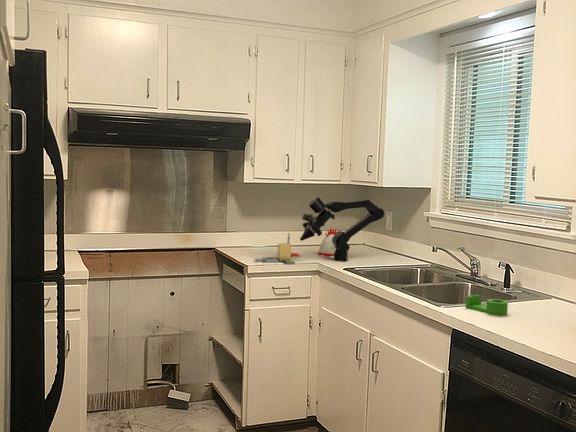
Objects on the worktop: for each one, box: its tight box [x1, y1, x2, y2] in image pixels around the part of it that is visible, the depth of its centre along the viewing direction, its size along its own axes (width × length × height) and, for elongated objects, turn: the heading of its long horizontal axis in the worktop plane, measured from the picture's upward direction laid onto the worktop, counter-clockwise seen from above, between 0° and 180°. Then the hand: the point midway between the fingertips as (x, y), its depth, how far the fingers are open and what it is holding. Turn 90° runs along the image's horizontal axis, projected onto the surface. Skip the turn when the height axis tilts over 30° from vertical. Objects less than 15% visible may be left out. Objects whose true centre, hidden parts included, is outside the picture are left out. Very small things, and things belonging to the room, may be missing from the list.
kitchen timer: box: [318, 228, 339, 257], centre depth 360 cm, size 14×14×15 cm
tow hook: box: [286, 232, 300, 258], centre depth 354 cm, size 8×13×9 cm
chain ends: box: [254, 256, 296, 265], centre depth 327 cm, size 18×15×2 cm
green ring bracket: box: [465, 294, 509, 317], centre depth 230 cm, size 15×7×5 cm, turn 33°
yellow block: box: [277, 243, 292, 262], centre depth 332 cm, size 6×4×9 cm, turn 105°
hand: (300, 240), depth 333 cm, fingers closed
